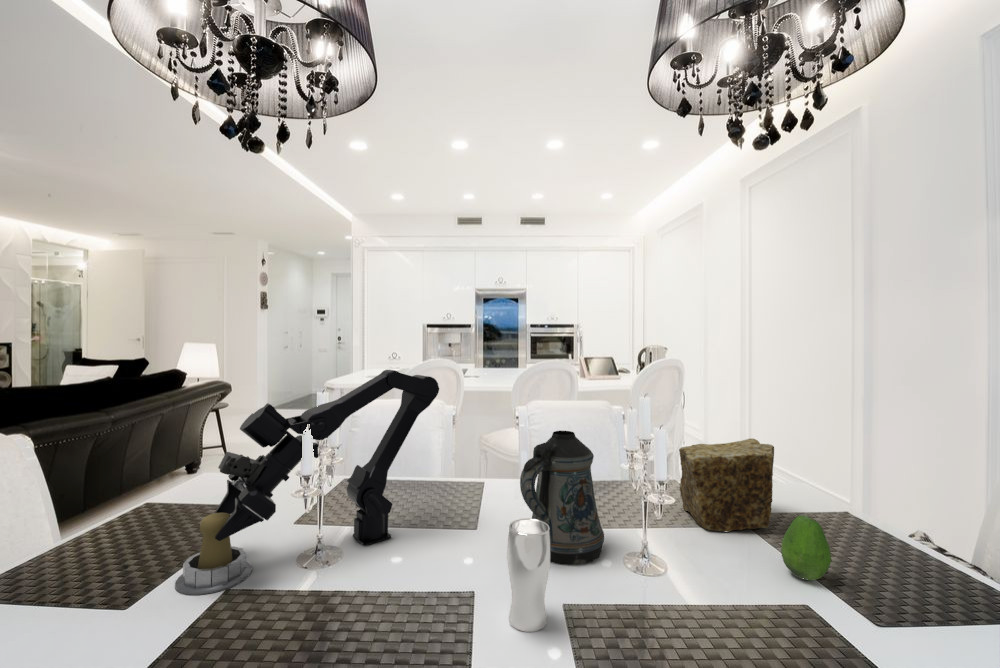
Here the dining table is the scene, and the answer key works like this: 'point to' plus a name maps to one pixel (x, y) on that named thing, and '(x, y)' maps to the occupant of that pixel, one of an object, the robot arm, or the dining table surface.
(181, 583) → the duct collar
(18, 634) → the dining table surface
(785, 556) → the avocado
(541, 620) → the beer glass
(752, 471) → the decorative stone
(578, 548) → the beer stein
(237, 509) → the robot arm
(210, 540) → the olive game pawn
